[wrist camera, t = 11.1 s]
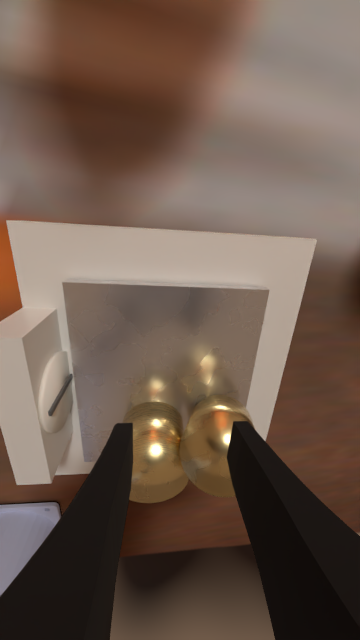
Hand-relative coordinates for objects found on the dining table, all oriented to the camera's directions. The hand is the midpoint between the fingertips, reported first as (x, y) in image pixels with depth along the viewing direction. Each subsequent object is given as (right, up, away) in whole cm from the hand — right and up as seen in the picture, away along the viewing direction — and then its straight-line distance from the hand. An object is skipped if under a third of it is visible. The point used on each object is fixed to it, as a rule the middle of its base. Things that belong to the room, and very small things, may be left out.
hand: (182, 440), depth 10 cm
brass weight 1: (-2, -3, +8) cm, 9 cm away
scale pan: (-1, +1, +8) cm, 8 cm away
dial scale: (-1, +2, +10) cm, 10 cm away
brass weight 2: (+3, -2, +7) cm, 8 cm away
